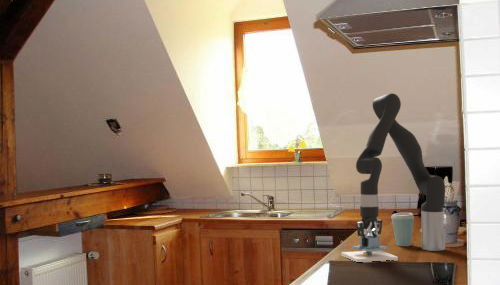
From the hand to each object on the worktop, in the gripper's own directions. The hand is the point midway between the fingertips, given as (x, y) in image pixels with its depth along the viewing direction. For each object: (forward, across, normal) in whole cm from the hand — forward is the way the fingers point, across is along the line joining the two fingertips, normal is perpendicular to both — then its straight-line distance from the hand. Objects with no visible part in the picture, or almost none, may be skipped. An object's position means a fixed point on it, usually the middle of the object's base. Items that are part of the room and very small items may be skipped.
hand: (369, 245), depth 237 cm
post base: (+5, 0, -1) cm, 5 cm away
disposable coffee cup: (+5, -37, -11) cm, 39 cm away
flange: (+1, 0, 0) cm, 1 cm away
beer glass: (+5, -14, -12) cm, 19 cm away
